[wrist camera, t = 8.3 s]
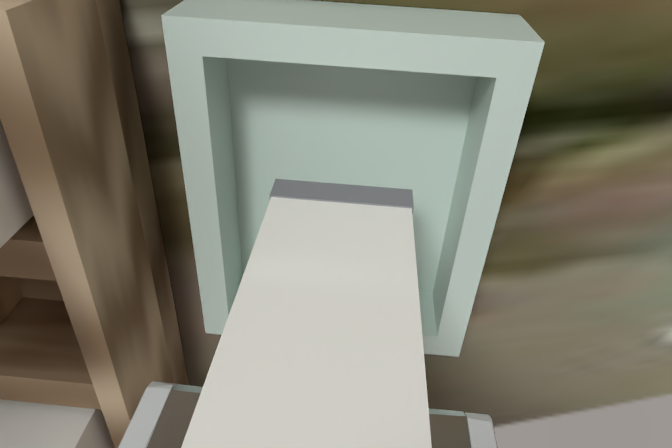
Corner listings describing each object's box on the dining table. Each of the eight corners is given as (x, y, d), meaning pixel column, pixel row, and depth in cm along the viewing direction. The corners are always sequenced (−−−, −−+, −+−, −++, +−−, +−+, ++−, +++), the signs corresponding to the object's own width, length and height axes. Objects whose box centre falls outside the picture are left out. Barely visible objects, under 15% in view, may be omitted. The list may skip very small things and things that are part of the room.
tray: (195, -8, 16) (160, 15, 14) (519, 15, 16) (544, 42, 13) (224, 283, 23) (205, 333, 20) (450, 303, 22) (458, 356, 20)
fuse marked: (275, 178, 15) (118, 605, 6) (411, 189, 15) (453, 644, 6) (278, 283, 18) (165, 708, 9) (396, 293, 18) (410, 737, 8)
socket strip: (-105, -45, 16) (-296, -11, 12) (113, -31, 16) (5, 10, 11) (64, 384, 28) (3, 483, 24) (191, 397, 28) (153, 499, 23)
